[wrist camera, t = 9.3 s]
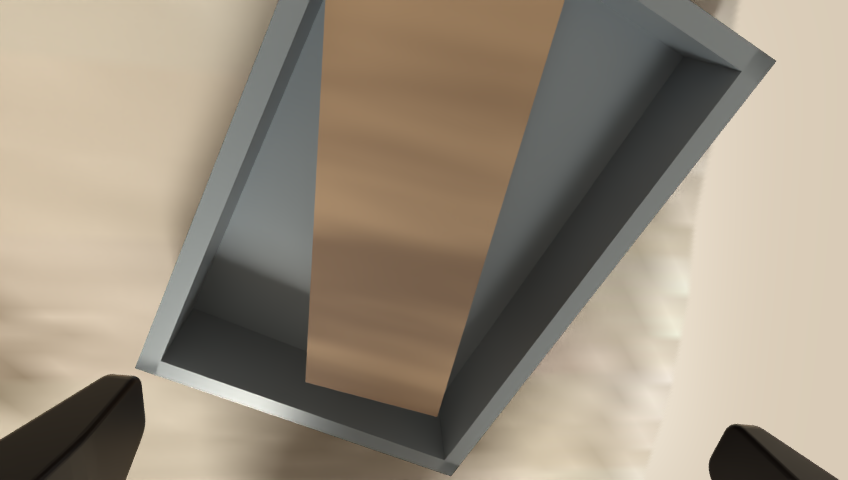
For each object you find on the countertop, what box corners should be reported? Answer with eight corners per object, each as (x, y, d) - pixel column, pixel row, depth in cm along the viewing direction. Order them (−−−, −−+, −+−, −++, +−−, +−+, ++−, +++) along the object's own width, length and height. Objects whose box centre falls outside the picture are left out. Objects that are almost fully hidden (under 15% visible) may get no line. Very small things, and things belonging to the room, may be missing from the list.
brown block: (437, 416, 15) (576, -38, 8) (305, 382, 15) (330, -92, 8) (455, 322, 18) (566, -64, 11) (346, 294, 19) (388, -102, 12)
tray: (442, 405, 22) (450, 476, 19) (177, 305, 19) (135, 368, 16) (701, 45, 16) (775, 60, 13) (373, -177, 13) (367, -227, 10)
